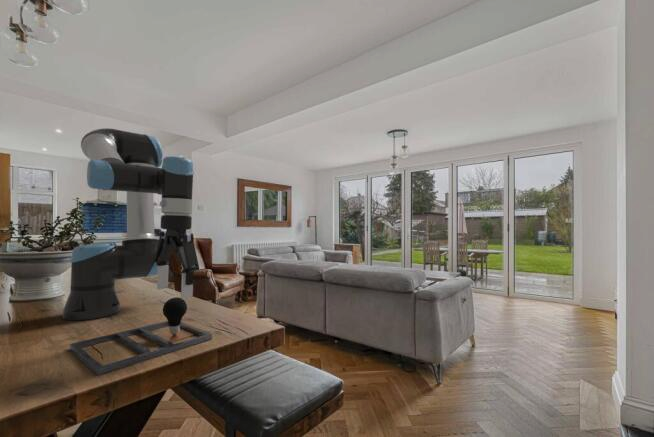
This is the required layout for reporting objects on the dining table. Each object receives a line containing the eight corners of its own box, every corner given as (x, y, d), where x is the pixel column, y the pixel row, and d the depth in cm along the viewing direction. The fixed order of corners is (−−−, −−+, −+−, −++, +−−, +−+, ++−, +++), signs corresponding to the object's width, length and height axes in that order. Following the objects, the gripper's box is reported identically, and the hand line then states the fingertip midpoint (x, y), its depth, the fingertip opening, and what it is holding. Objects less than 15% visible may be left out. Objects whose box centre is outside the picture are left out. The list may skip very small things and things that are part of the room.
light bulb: (170, 340, 78) (171, 302, 78) (157, 335, 81) (158, 298, 81) (190, 333, 83) (191, 297, 83) (178, 329, 86) (179, 293, 86)
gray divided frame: (69, 349, 73) (69, 344, 73) (174, 323, 93) (174, 319, 93) (97, 375, 61) (98, 369, 61) (212, 338, 80) (212, 334, 80)
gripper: (142, 213, 88) (139, 287, 88) (186, 215, 72) (183, 304, 72) (168, 214, 94) (166, 283, 94) (215, 216, 78) (212, 298, 78)
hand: (174, 292), depth 83 cm, fingers open, 13 cm apart
